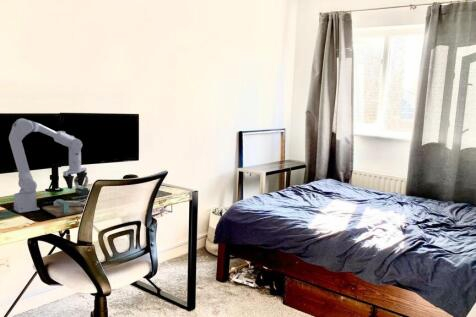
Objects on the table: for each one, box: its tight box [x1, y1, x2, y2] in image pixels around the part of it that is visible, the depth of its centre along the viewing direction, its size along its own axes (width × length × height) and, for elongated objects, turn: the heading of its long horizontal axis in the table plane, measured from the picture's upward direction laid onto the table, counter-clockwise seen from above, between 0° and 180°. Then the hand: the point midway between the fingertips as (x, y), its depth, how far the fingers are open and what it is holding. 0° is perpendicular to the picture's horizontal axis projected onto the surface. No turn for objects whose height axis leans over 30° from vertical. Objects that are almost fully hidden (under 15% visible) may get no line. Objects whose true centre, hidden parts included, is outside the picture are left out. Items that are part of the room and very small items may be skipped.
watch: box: [73, 175, 89, 196], centre depth 236 cm, size 6×8×11 cm
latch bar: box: [53, 198, 87, 206], centre depth 208 cm, size 16×4×3 cm, turn 101°
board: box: [41, 199, 84, 218], centre depth 207 cm, size 21×17×1 cm
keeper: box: [55, 198, 69, 213], centre depth 200 cm, size 2×9×5 cm, turn 47°
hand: (75, 187), depth 216 cm, fingers open, 7 cm apart
